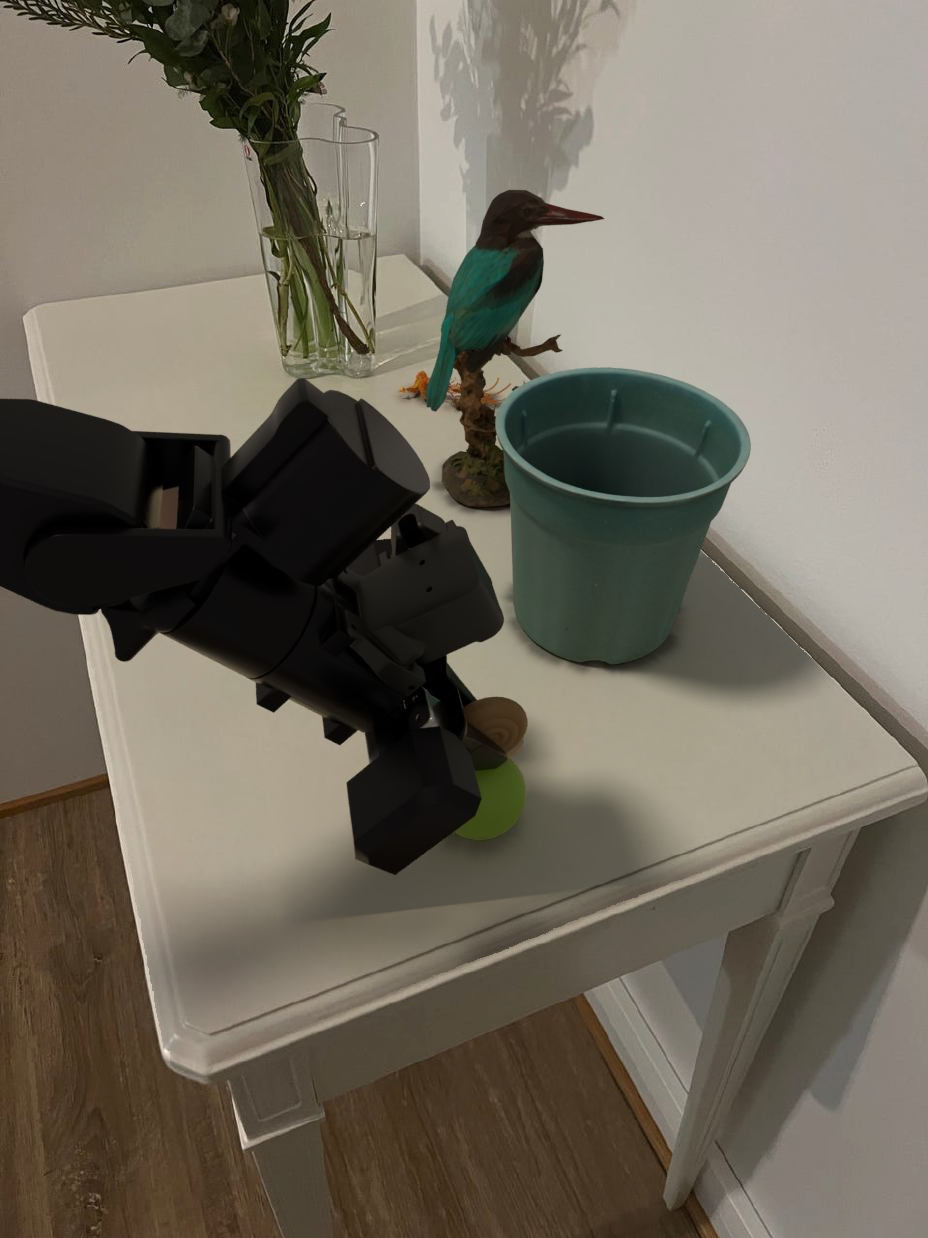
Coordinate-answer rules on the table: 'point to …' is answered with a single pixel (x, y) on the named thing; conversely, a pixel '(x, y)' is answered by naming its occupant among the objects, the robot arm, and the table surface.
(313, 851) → the table surface
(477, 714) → the snail figurine
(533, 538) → the flower pot
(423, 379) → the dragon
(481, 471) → the sculpture
